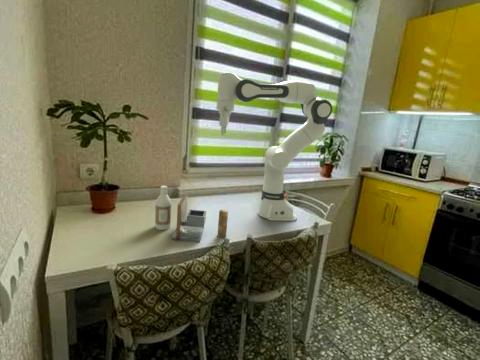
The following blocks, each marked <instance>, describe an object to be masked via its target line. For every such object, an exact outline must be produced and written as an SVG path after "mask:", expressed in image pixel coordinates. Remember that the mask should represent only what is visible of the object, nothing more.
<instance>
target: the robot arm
mask: <svg viewBox="0 0 480 360" xmlns="http://www.w3.org/2000/svg"><path fill="white" fill-rule="evenodd" d="M255 99H276V100H278V101H279V102H280V103H284V104H300V106H301V112H302V113H303V115H304V116H305V117H306V118H307V119H306V121H305V122H304V123H303V124H302V125H300V126H299V127H298V128H297V129H296V130H294V131H293V132H291V133H290V134H289V135H288V136H286V138H285V139H283V141H282V142H281V143H280V144H279V145H272V146H270V147H268V148H267V149H266V150H265V154H264V171H263V172H264V177H263V184H262V190H261V192H260V193H261V194H260V204H259V208H258V210H257V213H256V214H257V215H258V216H259V217H262V218H264V219H267V220H269V221H283V222H284V221H288V222H289V221H293V222H294V221H296V220H297V218H298V217H297V214H296V213H295V212H294V208H293V207H294V206H293V205H292V204H291V203H290V202H289V201H288V200H287V198H288V195H287V194H286V193H285V192H284V191H283V188H284V182H285V177H284V176H285V173H284V172H285V171H284V170H285V169H286V168H287V167H288V166H289V164H290V163H291V162H293V160H294V159H295V158H296V157H297V156H298V155H299V154H300V153H301V152H302V151H304V150H305V149H307V148H308V147H309V146H310V145H312V144H313V143H314V142H316V140H318V139H319V138H320V137H321V136H322V135H323V134H324V132H325V131H326V130H325V128H326V126H325V123H326V122H327V121H328V119H329V117H330V116H331V115H332V112H333V105H332V103H331V102H330V100H327V99H325V98H322V97H321V98H320V97H318V96H317V89H316V86H315V85H314V83H312V82H308V81H300V80H288V81H282V82H279V83H275V84H271V83H270V84H269V83H268V84H267V83H257V82H255V81H253V80H250V79H248V78H247V79H243V78H242V79H241V78H240V77H239V76H237V75H236V73H234V72H228V73H227V72H226V73H222V74H220V76H219V79H218V84H217V98H216V110H217V111H218V114H219V123H218V124H219V127H220V135H221V136H225V134H226V131H227V127H228V125H229V122H230V117H231V115H232V112H234V111H235V101H239V102H242V103H249V102H251V101H254V100H255Z"/></svg>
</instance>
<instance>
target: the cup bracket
mask: <svg viewBox="0 0 480 360" xmlns="http://www.w3.org/2000/svg"><path fill="white" fill-rule="evenodd" d="M188 196H189V194H187V193H184V194H183V196H182V197H181V199H180V201H179V202H178V203H177V213H176V214H177V215H176V229H175V231H174V233H173V235H172V237H171V240H172V241H181V242H192V243H193V242H194V243H201V241H202V236H203V232H204V230H205V224H206V219H207V210H198V209H197V210H196V209H189V211H188Z"/></svg>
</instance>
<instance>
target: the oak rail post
mask: <svg viewBox="0 0 480 360" xmlns="http://www.w3.org/2000/svg"><path fill="white" fill-rule="evenodd" d="M228 218H229V210H226V209H219V211H218V224H217V233H216V234H217V235H216V236H217V237H218V238H226V237H227V230H228V221H229V219H228Z"/></svg>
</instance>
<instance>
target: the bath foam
mask: <svg viewBox="0 0 480 360" xmlns="http://www.w3.org/2000/svg"><path fill="white" fill-rule="evenodd" d="M154 210H155V214H154V215H155V220H154V222H155V223H154V226H155V229H156V230H158V231H166V230H169V229H170V228H171V220H172V219H171V218H172V200H171V198H170V196H169V195H168V186H167V185H160V194H159V195H158V197H157V198H156V200H155V209H154Z"/></svg>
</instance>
